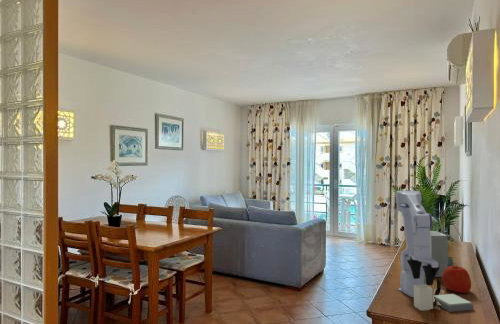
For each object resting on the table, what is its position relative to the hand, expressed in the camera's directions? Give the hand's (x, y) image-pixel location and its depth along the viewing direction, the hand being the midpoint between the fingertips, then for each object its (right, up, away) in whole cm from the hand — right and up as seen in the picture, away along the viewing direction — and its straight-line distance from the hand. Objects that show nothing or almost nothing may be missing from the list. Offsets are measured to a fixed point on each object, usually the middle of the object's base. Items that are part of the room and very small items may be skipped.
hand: (422, 281), depth 132 cm
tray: (+12, -10, +2) cm, 15 cm away
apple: (+23, -10, +18) cm, 31 cm away
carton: (0, -10, 0) cm, 10 cm away
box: (+10, -10, +24) cm, 28 cm away
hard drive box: (+27, -11, +43) cm, 52 cm away
